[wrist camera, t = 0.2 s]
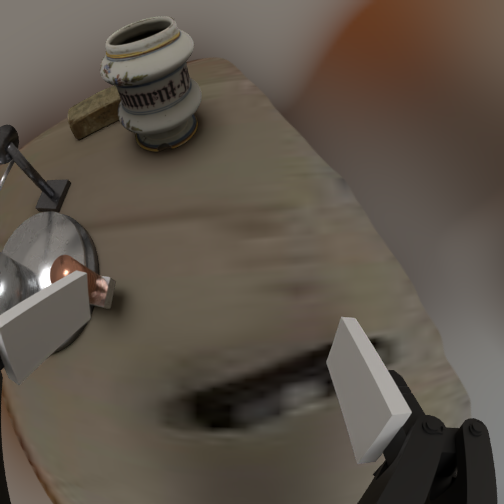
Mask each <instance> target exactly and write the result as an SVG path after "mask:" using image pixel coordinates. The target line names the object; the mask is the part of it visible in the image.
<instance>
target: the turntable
mask: <svg viewBox="0 0 504 504" xmlns="http://www.w3.org/2000/svg"><path fill="white" fill-rule="evenodd" d="M2 253H3V254H5V255H6V256H8V257H10V258H12V259H13V260H15V261H17V262H19V263H20V264H22V265H24V266H26V267H27V268H29V269H30V270H31V271H32V273H33V275H34V277H35V279H36V283H37V289H38V292H39V291H40V290H42V289H44V288H46V287H47V286H49V285H51V284H53V283H54V282H56V281H58V280H60V279H62V278H63V277H65V276H67V275H69V274H71V273H72V272H74V271H76V270H77V271H81V272H85V273H87V283H88V296H89V304H90V305H94V306H98V307H103V308H107V309H111V303H112V298H113V293H114V289H115V284H116V281H115V280H113V279H112V278H110V277H105V276H100V275H98V274H97V273H95V272H94V271H92V270H90V269H89V268H88V256H87V250H86V245H85V242H84V239H83V237H82V235H81V233H80V231H79V229H78V228H77V227H76V225H74V224H73V223H72V222H71V221H70V220H69V219H68V218H67V217H65V216H64V215H62V214H60V213H57V212H42V213H39V214H36V215H34V216H32V217H30V218H29V219H27V220H26V221H24V222H23V223H22V224H21V225H20V226H19V227H18V228H17V229H16V230H15V231H14V233H13V234H12V235H11V237H10V238H9V240H8V241H7V243H6V245H5V247H4V249H3V251H2Z"/></svg>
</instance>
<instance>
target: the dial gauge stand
mask: <svg viewBox="0 0 504 504" xmlns="http://www.w3.org/2000/svg"><path fill="white" fill-rule="evenodd" d="M18 144H19V139H18V134H17V131H16V130H15V128H14V127H13V126H11V125H4V126H1V127H0V164H6V163H8V162H10V161H11V162H10V164H9V165H8V167H7V169H6V171H5V173H4V175H3V177H2V179H1V181H0V190H1V188H2V186H3V184H4V182H5V180H6V177H7V175H8V174H9V172H10V170H11V168H12V166H13V164H14V162H15V163H16V164H17V165H18V166H19V167H20V168H21V169H22V170H23V172H24V173H25V174H26V175H27V176H28V177H29V178H30V179H31V180H32V181H33V182H34V183H35V184H36V185H37V186H38V187H39V188H40V189H41V190H42V193H41V196H40V198H39V200H38V203H37V205H36V209H37V210H38V211H50V212H59V211H60V208H61V206H62V203H63V201H64V198H65V196H66V194H67V191H68V189H69V187H70V184H71V183H70V181H69V180H47V182H46V181H45V180H44V179H43V178H42V177H41V176H40V175H39V173H38V172H37V171H36V170H35V169H34V168H33V167H32V165H31V164H30V163H29V162H28V161H27V160H26V158H25V157H24V156H23V155H22V154H21V153H20V151H19V150H18ZM12 159H13V160H12Z"/></svg>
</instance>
